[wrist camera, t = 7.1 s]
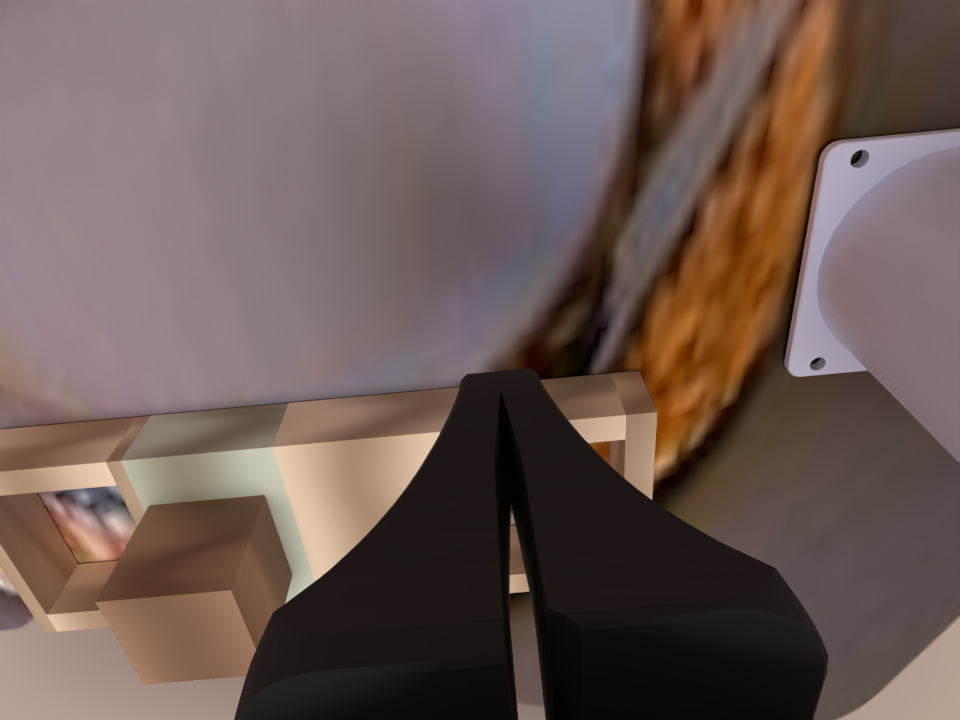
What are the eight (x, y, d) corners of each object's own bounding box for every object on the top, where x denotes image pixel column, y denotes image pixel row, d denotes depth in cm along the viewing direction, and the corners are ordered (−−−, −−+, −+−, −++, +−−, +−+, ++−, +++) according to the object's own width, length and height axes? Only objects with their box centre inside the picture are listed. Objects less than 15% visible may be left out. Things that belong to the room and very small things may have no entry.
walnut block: (264, 495, 23) (230, 590, 19) (292, 575, 25) (266, 674, 21) (149, 505, 23) (95, 602, 19) (186, 584, 25) (143, 684, 22)
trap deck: (638, 370, 24) (657, 412, 21) (632, 532, 28) (647, 581, 26) (-14, 430, 24) (-60, 477, 22) (76, 581, 28) (44, 632, 26)
